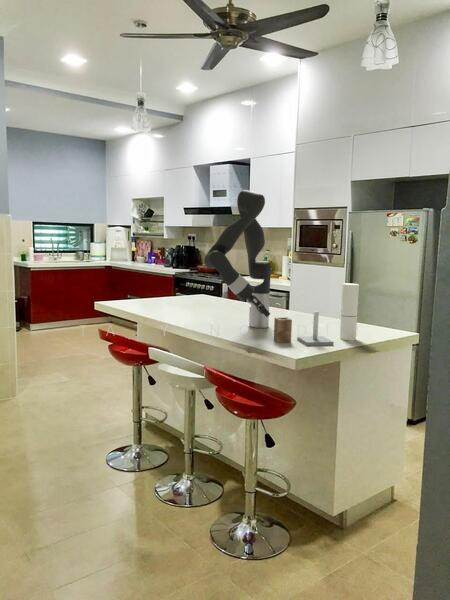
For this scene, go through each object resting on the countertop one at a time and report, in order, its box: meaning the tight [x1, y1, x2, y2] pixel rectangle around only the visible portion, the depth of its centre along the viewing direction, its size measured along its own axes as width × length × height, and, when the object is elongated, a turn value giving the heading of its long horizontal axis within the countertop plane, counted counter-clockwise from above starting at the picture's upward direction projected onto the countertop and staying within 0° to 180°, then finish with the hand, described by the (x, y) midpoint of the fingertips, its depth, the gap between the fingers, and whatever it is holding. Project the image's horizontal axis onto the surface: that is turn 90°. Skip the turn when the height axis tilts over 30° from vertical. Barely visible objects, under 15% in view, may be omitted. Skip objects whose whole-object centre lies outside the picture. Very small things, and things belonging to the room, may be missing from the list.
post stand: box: [296, 311, 335, 347], centre depth 212 cm, size 12×12×14 cm
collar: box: [273, 316, 293, 344], centre depth 213 cm, size 6×6×10 cm
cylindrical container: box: [339, 282, 360, 341], centre depth 220 cm, size 7×7×25 cm
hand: (266, 313), depth 211 cm, fingers open, 8 cm apart
